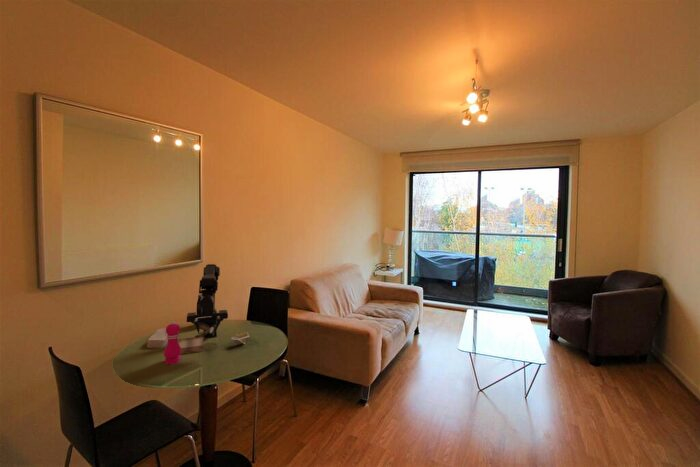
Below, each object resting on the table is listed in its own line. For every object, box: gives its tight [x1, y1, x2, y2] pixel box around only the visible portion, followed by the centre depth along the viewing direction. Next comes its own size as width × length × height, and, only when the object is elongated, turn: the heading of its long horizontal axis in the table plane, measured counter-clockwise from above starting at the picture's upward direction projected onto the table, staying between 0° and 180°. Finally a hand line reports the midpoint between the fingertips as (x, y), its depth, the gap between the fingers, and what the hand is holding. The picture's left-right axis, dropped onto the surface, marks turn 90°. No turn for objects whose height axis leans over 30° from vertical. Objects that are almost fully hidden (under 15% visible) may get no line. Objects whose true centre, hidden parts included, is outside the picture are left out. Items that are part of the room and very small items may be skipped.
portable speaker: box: [196, 294, 203, 323], centre depth 200 cm, size 9×9×20 cm
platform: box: [231, 331, 250, 347], centre depth 176 cm, size 12×18×7 cm, turn 134°
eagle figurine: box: [194, 322, 215, 338], centre depth 161 cm, size 8×7×9 cm
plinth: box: [178, 336, 204, 355], centre depth 169 cm, size 12×12×3 cm
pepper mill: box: [163, 320, 181, 365], centre depth 153 cm, size 7×7×20 cm
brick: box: [146, 327, 168, 349], centre depth 175 cm, size 17×8×5 cm, turn 11°
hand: (207, 332), depth 162 cm, fingers closed on eagle figurine, 7 cm apart
